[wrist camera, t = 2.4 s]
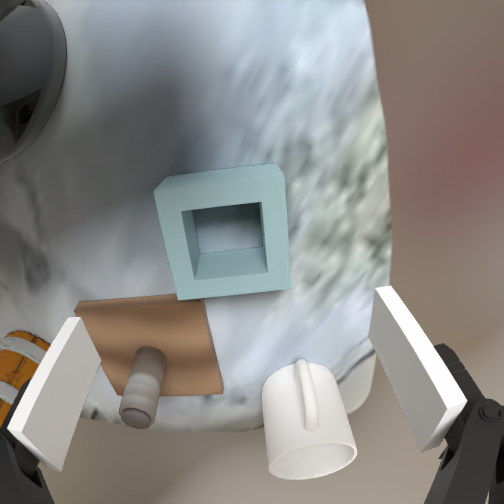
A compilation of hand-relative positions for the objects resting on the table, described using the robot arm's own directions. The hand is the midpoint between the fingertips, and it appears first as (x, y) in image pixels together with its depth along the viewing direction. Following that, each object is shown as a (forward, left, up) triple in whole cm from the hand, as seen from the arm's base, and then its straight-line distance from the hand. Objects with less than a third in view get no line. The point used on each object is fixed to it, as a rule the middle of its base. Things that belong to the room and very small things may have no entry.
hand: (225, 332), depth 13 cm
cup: (+18, +5, -13) cm, 22 cm away
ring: (0, 0, -12) cm, 12 cm away
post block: (+12, -9, -12) cm, 19 cm away
